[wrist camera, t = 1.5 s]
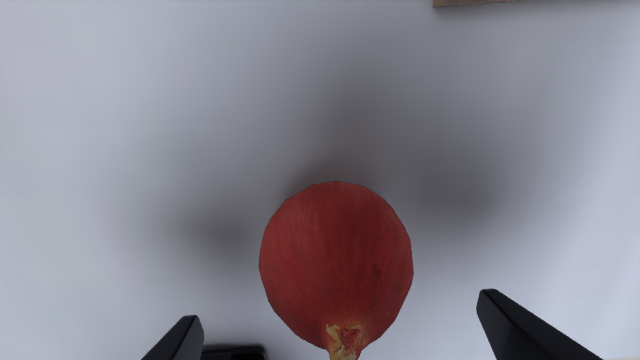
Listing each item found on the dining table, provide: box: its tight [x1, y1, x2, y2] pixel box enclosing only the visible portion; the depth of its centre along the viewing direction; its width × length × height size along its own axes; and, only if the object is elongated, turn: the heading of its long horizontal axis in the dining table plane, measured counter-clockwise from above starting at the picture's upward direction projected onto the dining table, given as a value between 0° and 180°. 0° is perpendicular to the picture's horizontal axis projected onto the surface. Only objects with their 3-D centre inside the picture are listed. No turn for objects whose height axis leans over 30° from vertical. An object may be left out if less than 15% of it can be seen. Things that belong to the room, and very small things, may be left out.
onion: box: [259, 181, 414, 360], centre depth 11 cm, size 6×6×8 cm
